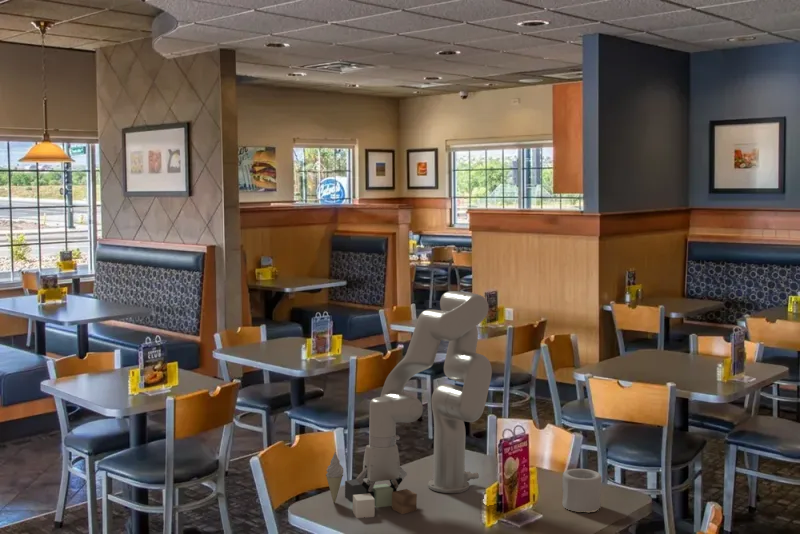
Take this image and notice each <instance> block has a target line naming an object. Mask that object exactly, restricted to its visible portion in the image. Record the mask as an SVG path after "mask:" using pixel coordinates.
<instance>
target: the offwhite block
mask: <svg viewBox="0 0 800 534" xmlns="http://www.w3.org/2000/svg"><path fill="white" fill-rule="evenodd" d="M375 508H376V507H375V499H374V498H373V496H372V495H371V494H358V495H353V502H352V513H353V515H354V517H356V519H364V517H365V518H374V517H375V514H376V513H375V511H376V510H375Z"/></svg>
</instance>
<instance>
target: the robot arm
mask: <svg viewBox="0 0 800 534" xmlns="http://www.w3.org/2000/svg"><path fill="white" fill-rule="evenodd" d="M439 307H440V309H439V310H438V309H426V310H423V311H422V312H421V313H420V314H419V315H418V318H417V321H416V324H415V327H414V329H413V332H412V336H411V339H410V341H409V345H408V347H407V350H406V353H405V356H404V357H403V358H402V359H401V360H400V361H399V362H398V363H397V364H396V365H395V366H394V368H393V369H392V370H391V371H390V373H388V375H387V376H386V379H385V381H384V384H383V387H382V390H381V393H380V396H377V397H374V398H372V399H371V400H370V402H369V418H368V419H369V427H368V429H369V432H368V435H369V436H368V444H367V445H366V446H365V449H364V455H363V461H362V462H363V463H362V471H361V472H360V473H359V474H358V475H357V476H356V477H355V479H356V480H357V481H358V482H359V483H360V484H361V485H362V486H363V487H364V488H365V489H366V494H371V495H372V496H373V498H374V492H373V491H372V489H373V487H374V485H376V483H377V482H386V481H389V483H390V485H389V486H390V487H391V488H393V492H394V491H398V488H399V486H400V484H401V483H402V482H403V480H404V479H405V478H406V477H407V476H408V472H406V471H405V470H404V468H402V467H401V464H400V461H401V460H400V454H399V449H398V448H399V447H398V444H397V441H399V440H400V435H398V434H396V427H397V426H396V424H397V423H411V422H416V421H417V420H418V419H420V418H421V416H422V415H423V411H424V407H423V403H422V402H421V400H420V399H419V398H417V397H416V396H412V395H409V394H407V393H403V392H404V389H405V387H406V384H407V383H408V382H409V380H411V378H412V377H414V376H416V375H417V374H418V373H421V372H423V371H425V370H428V369H430V368H432V367H433V365H434V363H435V360H436V357H437V353H438V351H439V348H440V347H439V346H440V344H441V341H446V342H448V345H447V350H446V354H445V359H444V363H443V373H444V375H445V376H446V377H447V378H448V379H450V380H453V381H456V382H459V383H462V384H463V386H459V385H455V384H451V383H444V384H439V386H437V387H436V388H435V389H434V390H433V392H432V395H431V402H430V403H431V410H432V414H433V424H434V425H433V426H434V427H433V430H434V431H433V432H434V434H433V478H432V479H430V480H429V481H428V483H427V487H428V488H429V489H430V490H432V491H434V492H438V493H442V494H443V493H444V494H456V493H459V494H460V493H463V492H466V491H468V490H469V488H470V482H469V481H470V480H478V479H479V478H480V476H479V475H480V474H479V472H478V471H476V472H471V471H466V470H465V467H466V465H465V463H466V458H465V457H466V426H465V422H467V423H474V422H476V421H478V420H479V419H480V418H481V417H482V415H483V412H484V410H485V406H486V403H487V400H488V399H487V398H488V393H489V389H490V385H491V381H492V375H493V370H492V368H493V367H492V365H491V362H490V360H489V358H488V357H487V356H485V355H484V354H481V353H477V348H478V338H479V330H478V327H477V326H478V325H479V324H480V323H481V322H483V321H484V319H486V317H487V316H488V314H489V313H488V312H489V303H488V300H487V299H486V298H485V297H484V296H482V295H480V294H478V293H471V292H466V291H465V292H464V291H457V290H451V291H446V292H444V293H443V294H442V295H441V296H440V300H439ZM364 479H366V480H367V481H365V480H364ZM363 480H364V481H365V482H366V483H365V482H364V481H363Z"/></svg>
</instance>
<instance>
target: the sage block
mask: <svg viewBox="0 0 800 534" xmlns="http://www.w3.org/2000/svg"><path fill="white" fill-rule="evenodd" d="M390 486H391V485H389V484H388V483H381V484H374V487H373V489H372V491H373V492H374V499H375V508H383V507H384V508H385V507H386V508H387V507H390V506H391V507H392V492H393V488H391V487H390Z"/></svg>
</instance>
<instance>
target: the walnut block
mask: <svg viewBox="0 0 800 534" xmlns="http://www.w3.org/2000/svg"><path fill="white" fill-rule="evenodd" d="M417 498H418V494H417V493H416V492H414V491H412V490H410V489H407V488H405V489H400V490H397V491H394V492H392V506H391V509H392V510H393V511H395V512H398V513H399V514H400V515H404V514H405V515H406V514H408V513H409V514H410V513H413V512H417V507H418V506H417V504H418V503H417V502H418V501H417V500H418V499H417Z"/></svg>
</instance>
